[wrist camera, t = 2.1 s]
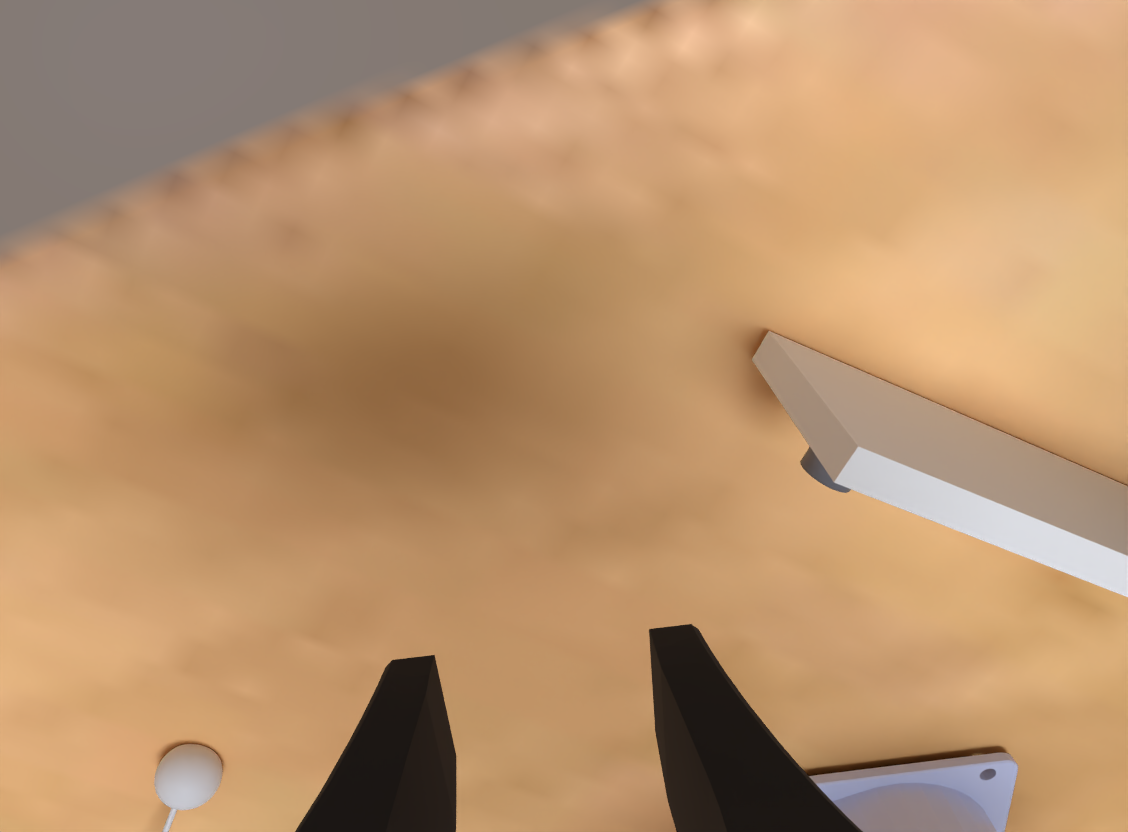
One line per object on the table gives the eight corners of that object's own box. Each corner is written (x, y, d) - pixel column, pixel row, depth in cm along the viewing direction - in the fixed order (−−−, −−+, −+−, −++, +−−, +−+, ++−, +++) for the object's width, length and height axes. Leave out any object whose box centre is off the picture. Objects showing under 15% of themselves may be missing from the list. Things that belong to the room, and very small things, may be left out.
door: (1158, 568, 24) (1329, 720, 19) (731, 394, 21) (804, 524, 16) (1205, 516, 23) (1396, 660, 18) (770, 327, 20) (861, 441, 15)
